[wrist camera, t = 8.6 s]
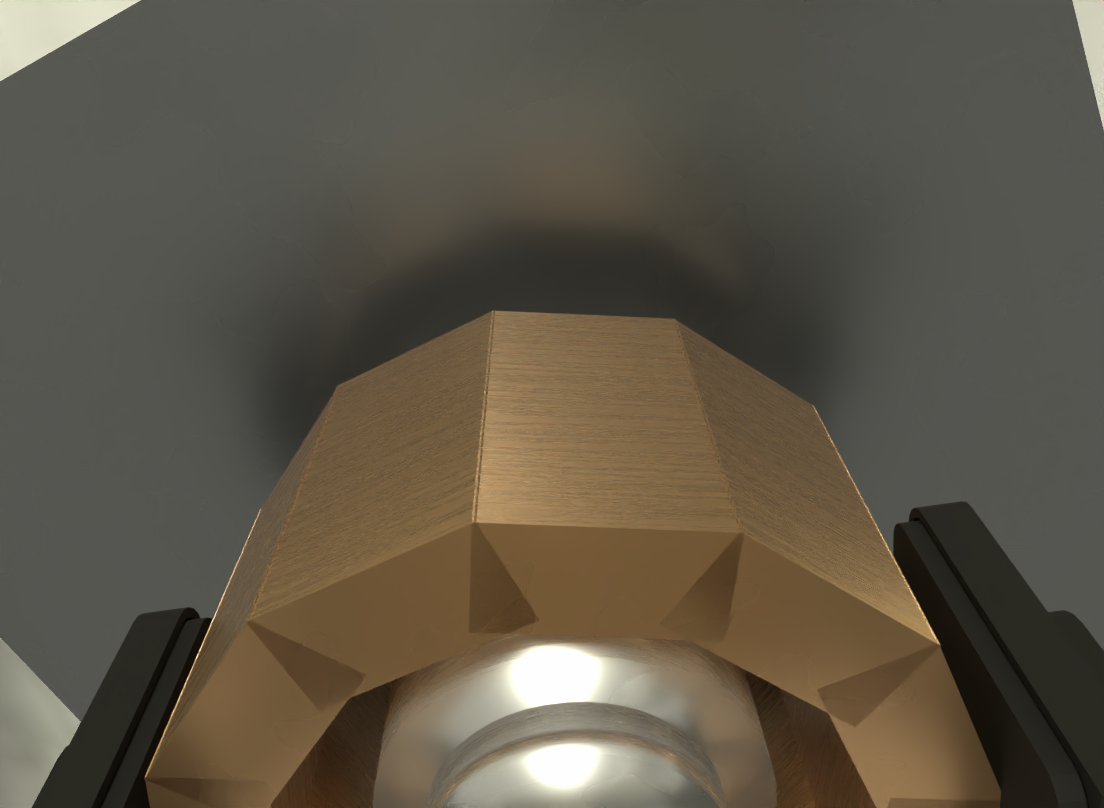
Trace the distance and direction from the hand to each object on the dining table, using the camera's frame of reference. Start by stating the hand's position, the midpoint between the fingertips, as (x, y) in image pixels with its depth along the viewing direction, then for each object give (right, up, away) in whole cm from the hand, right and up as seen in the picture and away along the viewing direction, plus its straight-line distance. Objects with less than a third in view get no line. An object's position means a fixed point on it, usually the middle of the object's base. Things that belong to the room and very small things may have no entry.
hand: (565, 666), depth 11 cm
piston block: (0, +2, +4) cm, 4 cm away
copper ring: (0, +1, +1) cm, 1 cm away
